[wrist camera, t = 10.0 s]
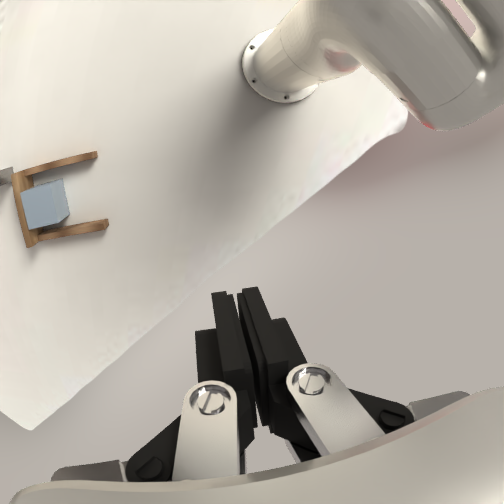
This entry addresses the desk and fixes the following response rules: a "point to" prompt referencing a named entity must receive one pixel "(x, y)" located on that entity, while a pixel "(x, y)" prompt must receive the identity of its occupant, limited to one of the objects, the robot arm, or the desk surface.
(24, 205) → the blue-grey cube
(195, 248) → the desk surface
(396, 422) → the robot arm
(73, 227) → the bay
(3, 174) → the winch post
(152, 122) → the desk surface
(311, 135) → the desk surface
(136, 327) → the desk surface
